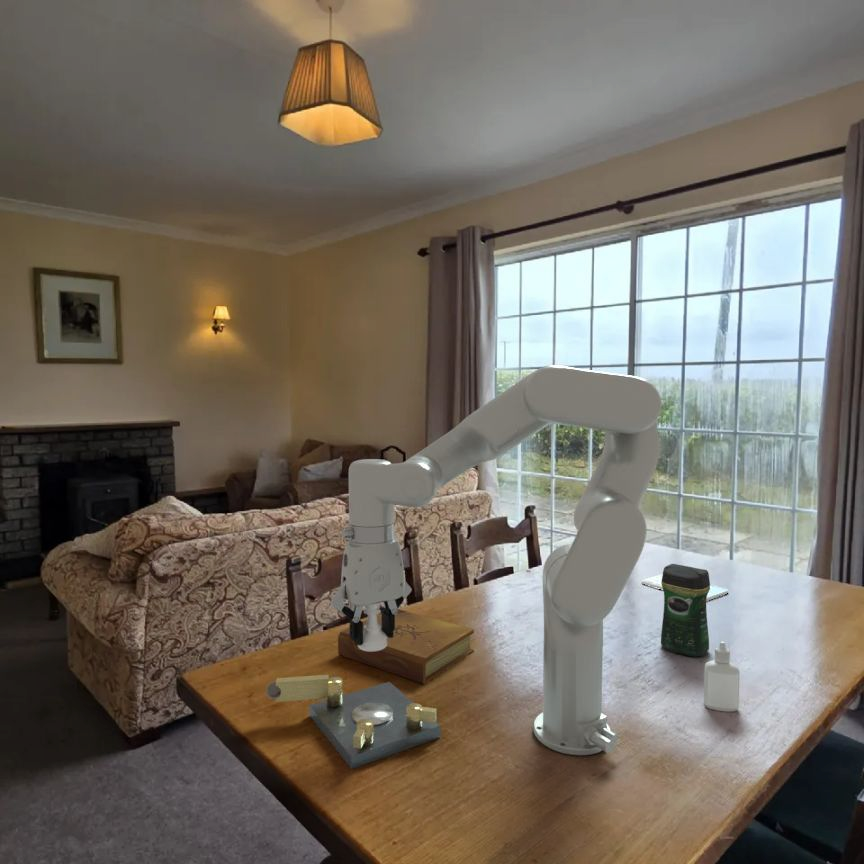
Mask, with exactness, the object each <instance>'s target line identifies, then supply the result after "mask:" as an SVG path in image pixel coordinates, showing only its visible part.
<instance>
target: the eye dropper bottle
mask: <svg viewBox="0 0 864 864" xmlns="http://www.w3.org/2000/svg"><path fill="white" fill-rule="evenodd" d="M730 656H731V651H730V649H728V648H727V647H726V642H725V641H720V642H719V646H717V647H715V649H714V659H713V660H712V659H711V660H709V661H706V663H705V664H704V674H703V703H704V706H705V707H706V708H707V709H709V710H712V711H713V710H714V711H719V712H727V713H728V712H729V713H730V712H732V713H733V712H737V711H738V710H739V706H740V669H739V667H738V666H737V665H736V664H735V663H733V662H730V661H731V659H730V658H731V657H730Z"/></svg>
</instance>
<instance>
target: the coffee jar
mask: <svg viewBox="0 0 864 864" xmlns="http://www.w3.org/2000/svg"><path fill="white" fill-rule="evenodd" d="M662 574H663V576H662V581H661V583H662V587H663V590H664V591H663V614H662V615H663V616H662V625H661V633H660V645H661V646H662V648H663V649H665V650H668V651H670V652H673V653H678V654H681V655H684V656H688V657H693V658H695V657H701V656H705V655H706V654H707V653H708V651H709V649H710V637H709V627H708V615H707V613H708V612H707V602H706V600H707V594H708V592H709V590H710V584H711V583H710V574H709V572H708V570H707V569H703V568H697V567H694V566H693V567H692V566H687V565H682V564H677V563H670V564H668V565H666V566H664V568H663V571H662Z"/></svg>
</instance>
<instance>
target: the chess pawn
mask: <svg viewBox="0 0 864 864" xmlns="http://www.w3.org/2000/svg"><path fill="white" fill-rule="evenodd" d="M380 605H381V603H376V604H371V605H366V606H364V607H365V609H364V610H363V613H364V615H367V617H366V618H367V619H366V620H367V624H366V625H365V626H364V631H363V644H362V645H358V648H359V649H361V650H363V651H369V652H374V651H379V650H382V649H384V648H385V647H386V646H387V635H386V634H385V633H384V632H383V631H382V630H380V629H381V626H380V625H379V624H378V621H377V615H378V614H380V613H382V610H381V609H380V608H379V607H380Z"/></svg>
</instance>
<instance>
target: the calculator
mask: <svg viewBox="0 0 864 864" xmlns="http://www.w3.org/2000/svg"><path fill="white" fill-rule="evenodd" d="M662 576H663V573H661V574H658V575H655V576H654V575H653V576H651V577H648V578H645V579H642V580H641V584H642V583H643V584H646V585H650V586H653V587H657V588H660V589H663V587H662V583H661V581H662ZM643 584H642V585H643ZM646 585H645V586H646ZM727 593H728V594H729V589H727V588H725V587H721V586H718V585H714V584H711V583H710V590H709V592H708V594H707V600H706V601H707V602H710V601H712V600H711V599H713V600H715V599H714V598H716V599H718V598H720V597H719V596H721V597H723V596H722V595H724V596H726V595H725V594H727ZM728 594H727V595H728ZM717 597H718V598H717ZM709 600H710V601H709Z"/></svg>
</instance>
